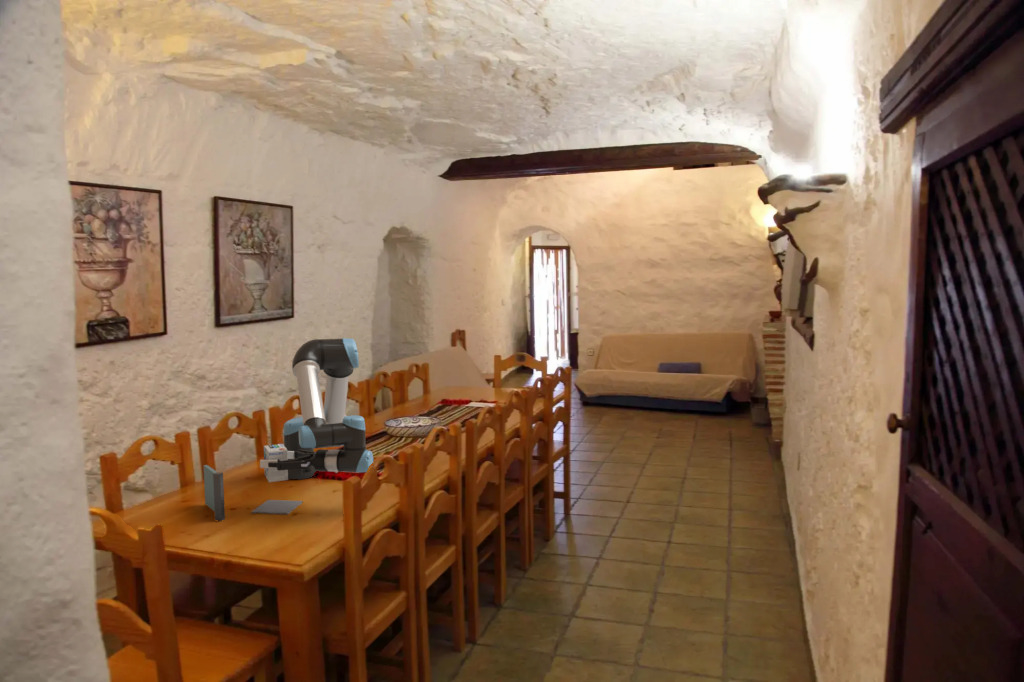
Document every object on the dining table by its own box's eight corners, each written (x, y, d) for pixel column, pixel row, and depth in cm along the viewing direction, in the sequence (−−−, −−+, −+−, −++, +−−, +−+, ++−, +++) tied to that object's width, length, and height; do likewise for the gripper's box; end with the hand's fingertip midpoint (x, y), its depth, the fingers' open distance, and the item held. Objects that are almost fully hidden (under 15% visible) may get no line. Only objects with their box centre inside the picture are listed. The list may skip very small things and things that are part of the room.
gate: (205, 503, 255) (203, 465, 254) (208, 503, 256) (207, 464, 255) (220, 516, 242) (219, 476, 240) (224, 516, 242) (222, 475, 241)
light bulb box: (264, 475, 254) (263, 445, 253) (283, 472, 258) (282, 443, 257) (268, 482, 245) (267, 451, 244) (289, 480, 248) (288, 449, 247)
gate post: (218, 518, 241) (216, 472, 240) (224, 518, 241) (222, 472, 240) (215, 520, 239) (213, 474, 238) (221, 520, 239) (219, 474, 238)
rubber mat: (268, 501, 259) (268, 499, 259) (302, 502, 258) (302, 500, 258) (251, 513, 247) (251, 511, 247) (287, 514, 245) (287, 512, 245)
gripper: (315, 480, 237) (253, 479, 239) (340, 462, 261) (283, 460, 263) (314, 458, 236) (252, 457, 239) (339, 441, 260) (283, 440, 263)
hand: (268, 459), depth 251 cm, fingers closed on light bulb box, 12 cm apart
